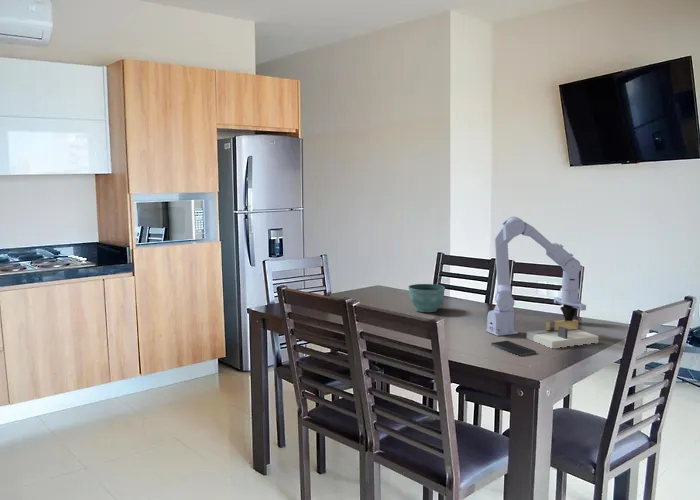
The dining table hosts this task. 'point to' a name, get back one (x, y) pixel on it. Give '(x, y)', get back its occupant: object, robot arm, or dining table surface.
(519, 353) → the phone
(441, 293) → the flower pot
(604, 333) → the dining table surface
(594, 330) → the dining table surface
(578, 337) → the white panel
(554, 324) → the bar
